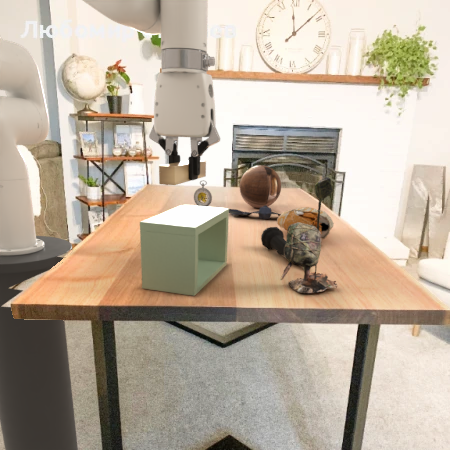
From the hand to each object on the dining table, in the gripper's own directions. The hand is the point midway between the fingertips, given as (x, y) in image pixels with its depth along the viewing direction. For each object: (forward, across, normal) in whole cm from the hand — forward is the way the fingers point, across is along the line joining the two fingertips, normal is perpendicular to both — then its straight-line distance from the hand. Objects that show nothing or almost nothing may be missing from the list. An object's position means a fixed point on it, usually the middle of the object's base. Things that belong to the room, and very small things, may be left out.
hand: (184, 177), depth 80 cm
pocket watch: (+19, +20, -67) cm, 72 cm away
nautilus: (+19, -19, -41) cm, 49 cm away
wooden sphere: (+19, +3, -84) cm, 86 cm away
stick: (0, 0, 0) cm, 0 cm away
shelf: (+19, -1, 0) cm, 19 cm away
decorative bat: (+19, -3, -65) cm, 68 cm away
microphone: (+19, -16, -21) cm, 32 cm away
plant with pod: (+19, -24, -2) cm, 30 cm away
